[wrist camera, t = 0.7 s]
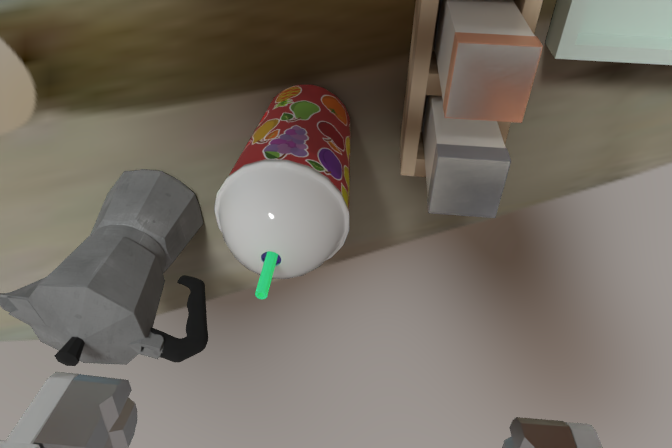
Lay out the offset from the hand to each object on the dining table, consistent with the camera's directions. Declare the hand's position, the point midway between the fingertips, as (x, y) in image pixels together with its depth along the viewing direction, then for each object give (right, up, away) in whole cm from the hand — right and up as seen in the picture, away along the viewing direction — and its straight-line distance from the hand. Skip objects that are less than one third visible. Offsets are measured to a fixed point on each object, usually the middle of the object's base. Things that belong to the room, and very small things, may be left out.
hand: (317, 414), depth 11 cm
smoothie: (-2, +13, +31) cm, 34 cm away
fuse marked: (+9, +18, +24) cm, 31 cm away
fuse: (+9, +13, +28) cm, 32 cm away
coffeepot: (-16, +5, +39) cm, 43 cm away
